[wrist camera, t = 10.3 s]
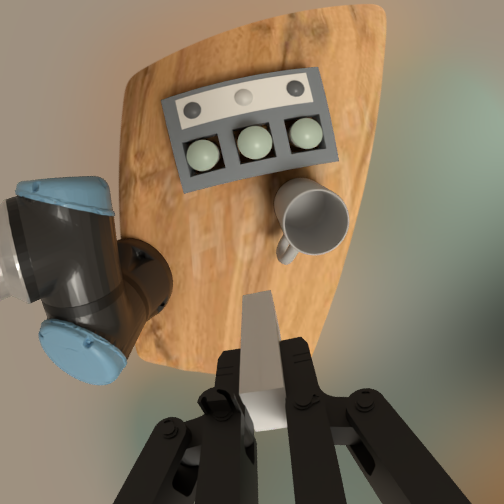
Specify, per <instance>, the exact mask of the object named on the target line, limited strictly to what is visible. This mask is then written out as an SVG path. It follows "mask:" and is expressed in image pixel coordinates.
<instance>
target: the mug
mask: <svg viewBox="0 0 504 504" xmlns="http://www.w3.org/2000/svg"><path fill="white" fill-rule="evenodd" d="M274 209H275V213H276V216H277V218H278V220H279V223H280V226H281V228H282V231H283V236H282V238H281V239H280V241H279V243H278V246H277V251H276V254H277V258H278V260H279V261H280V262H281V263H282V264H285V265H288V264H290V263H291V262H292V261H293V259H294V258H295V257H296V255H297V254H298V252H301V253H304V254H307V255H321V254H325V253H328V252H330V251H332V250H333V249H335V248H336V247H337V246H338V245H339V244H340V243H341V242H342V241H343V239H344V238H345V236H346V234H347V231H348V227H349V213H348V210H347V207H346V205H345V203H344V202H343V200H342V199H341V198H340V197H339V196H338V195H337V194H335V193H334V192H332V191H331V190H329V189H327V188H325V187H324V186H322V185H320V184H318V183H317V182H315V181H313V180H311V179H308V178H295V179H292V180H289V181H288V182H286V183H285V184H283V185H282V186H281V187H280V189H279V190H278V192H277V194H276V196H275V200H274ZM288 245H289V246H288ZM287 247H288V248H287Z"/></svg>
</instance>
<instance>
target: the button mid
mask: <svg viewBox="0 0 504 504" xmlns="http://www.w3.org/2000/svg"><path fill="white" fill-rule="evenodd" d="M271 147H272V138H271V135H270V134H269V132H268V131H267V130H265V129H264V128H262V127H259V126H251V127H248V128H246V129H244V130H243V131H242V132H241V133H240V135H239V137H238V148H239V150H240V152H241V153H242V154H243V155H244V156H246V157H247V158H250V159H260V158H263V157H264V156H266V155H267V154H268V153H269V152H270V150H271Z"/></svg>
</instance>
